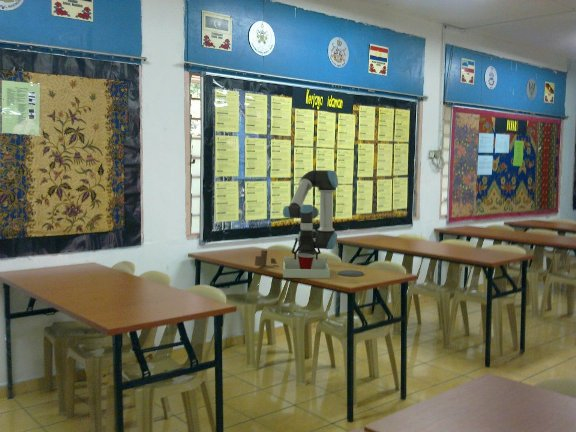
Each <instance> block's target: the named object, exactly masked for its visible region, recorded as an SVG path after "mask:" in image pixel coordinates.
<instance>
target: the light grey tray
mask: <svg viewBox="0 0 576 432" xmlns="http://www.w3.org/2000/svg"><path fill="white" fill-rule="evenodd" d="M282 278H290V279H291V278H294V279H297V278H298V279H299V278H300V279H301V278H302V279H303V278H304V279H330V278H331V269H330V266H329V264H328V257H318V259H317V260H316V265H314V258H313V261H312V267H311V269H300V265H299V259H298V257H297V265H296V259H294V256H283V267H282Z"/></svg>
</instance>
